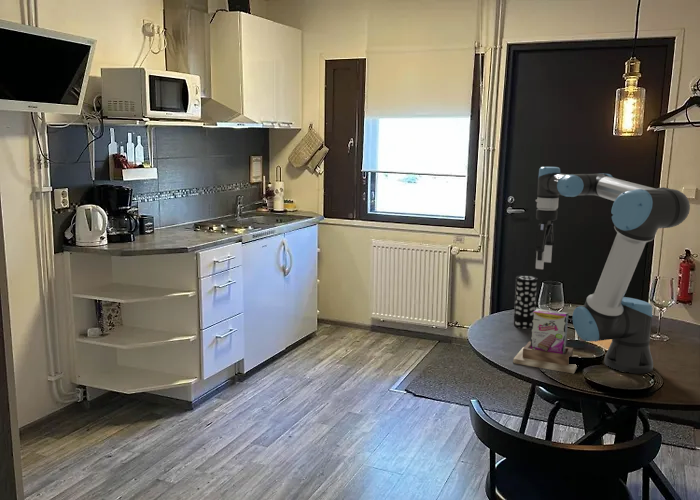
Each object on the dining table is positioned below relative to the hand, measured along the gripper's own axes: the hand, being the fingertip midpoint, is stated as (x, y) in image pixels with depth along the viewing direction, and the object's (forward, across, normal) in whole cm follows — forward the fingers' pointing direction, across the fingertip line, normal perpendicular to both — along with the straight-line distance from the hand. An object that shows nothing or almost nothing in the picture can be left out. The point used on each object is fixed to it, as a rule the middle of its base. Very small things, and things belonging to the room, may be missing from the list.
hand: (543, 265), depth 241 cm
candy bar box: (+27, +24, +8) cm, 37 cm away
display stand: (+29, +24, +8) cm, 38 cm away
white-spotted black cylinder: (+29, -14, -9) cm, 33 cm away
